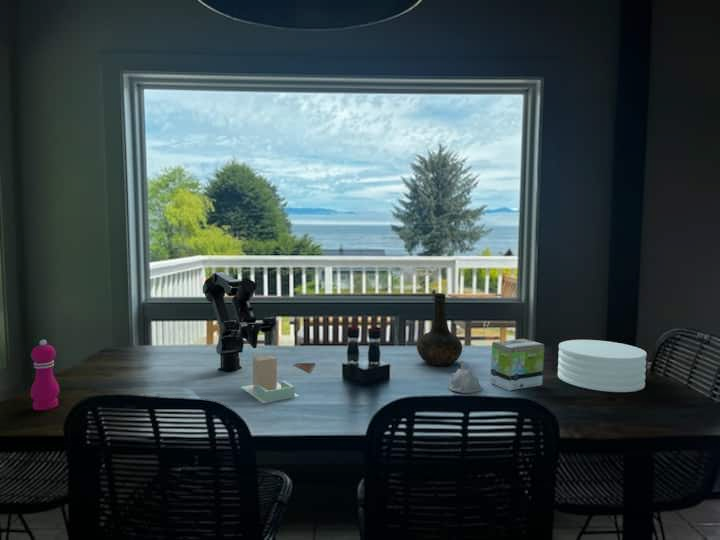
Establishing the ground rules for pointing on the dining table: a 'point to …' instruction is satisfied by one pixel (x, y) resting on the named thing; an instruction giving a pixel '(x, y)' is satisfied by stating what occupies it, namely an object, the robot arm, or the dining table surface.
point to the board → (272, 392)
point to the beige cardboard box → (265, 372)
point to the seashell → (464, 381)
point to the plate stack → (602, 365)
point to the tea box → (517, 364)
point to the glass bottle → (439, 338)
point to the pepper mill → (44, 378)
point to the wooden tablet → (305, 366)
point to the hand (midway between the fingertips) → (255, 347)
